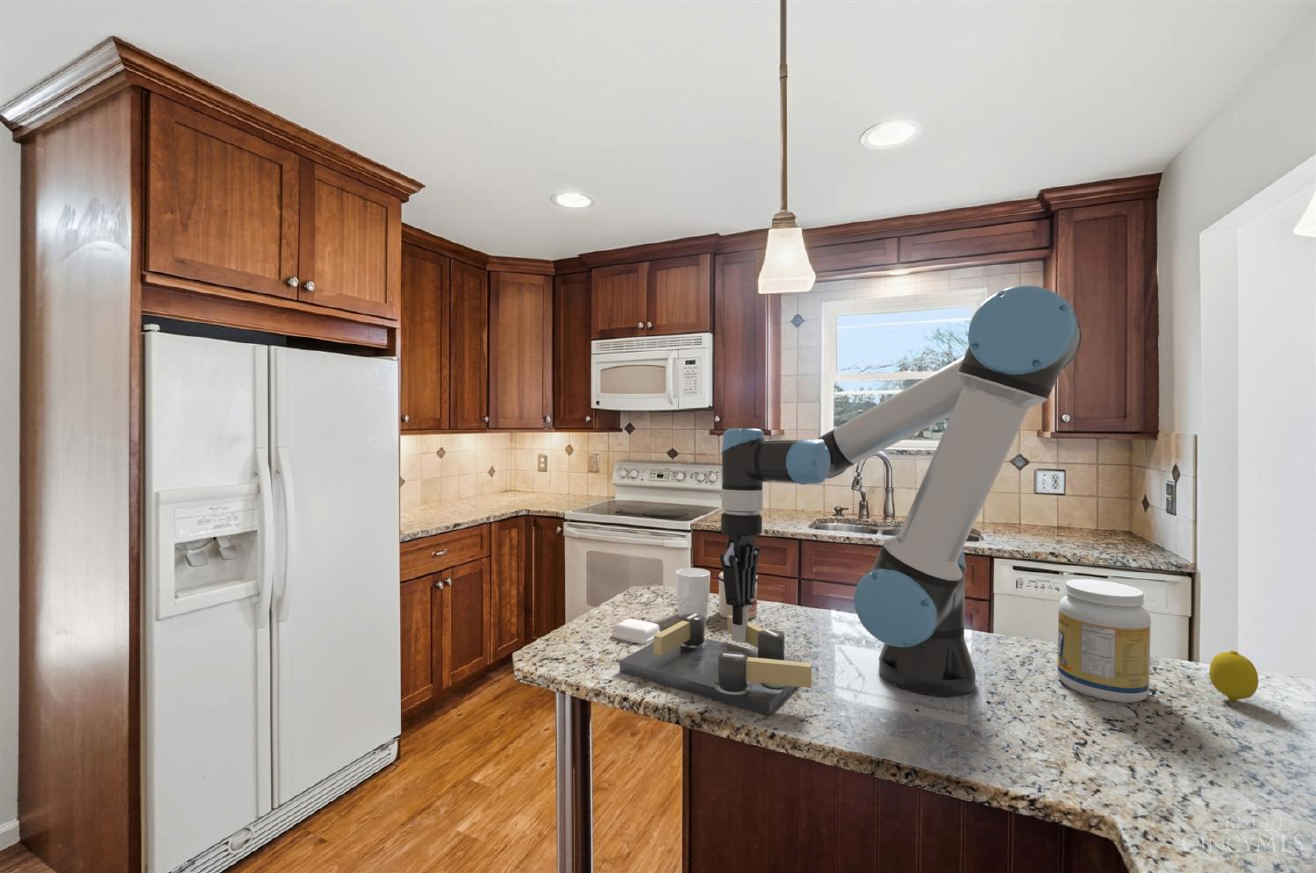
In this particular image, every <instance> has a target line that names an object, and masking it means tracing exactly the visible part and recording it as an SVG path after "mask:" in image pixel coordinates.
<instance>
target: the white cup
mask: <svg viewBox="0 0 1316 873" xmlns="http://www.w3.org/2000/svg"><path fill="white" fill-rule="evenodd" d="M710 583H711V572H710V570H707V569H704V568H698V567H685V568H680V569H677V570H676V571H675V585H676V586H675V592H676V604H677V616H678V617H679V618H680V617H681V616H682V615H684V614H695V613H696V614H699V615H702V616H704V617H705V619H706V618H707V617H708V616H709V615H708V611H709V610H708V609H709V601H710V588H711V587H710V586H711V585H710Z"/></svg>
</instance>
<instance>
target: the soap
mask: <svg viewBox="0 0 1316 873" xmlns="http://www.w3.org/2000/svg"><path fill="white" fill-rule="evenodd" d="M660 632H661V631H660V625H659V624H658V623H654V622H649V621H645V620H640V619H635V618H628V619H624V620H622V621H620V622H619V623H617V624H615V625H614V629H613V632H612V634H611V637H612V638H616V639H619V640H623V641H628V642H632V643H636V644H642V645H649V644H651V643H653V642H654V635H656V634H658V633H660Z"/></svg>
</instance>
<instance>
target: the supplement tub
mask: <svg viewBox="0 0 1316 873" xmlns="http://www.w3.org/2000/svg"><path fill="white" fill-rule="evenodd" d="M1064 593H1065V596H1063V597H1061V598H1060V600H1059V603H1058V607H1057V608H1058V620H1057V622H1058V623H1057V624H1058V626H1057V627H1058V629H1057V630H1058V631H1057V633H1058V634H1057V635H1058V637H1057V669H1056V670H1057V675H1058V678H1059V679H1060V681H1061V682H1062V683H1063V684H1064V685H1066V687H1068V688H1070V689H1072V690H1073V691H1075V692H1078V693H1081V694H1083V695H1086V696H1089V697H1093V698H1097V699H1099V700H1100V699H1101V700H1106V701H1111V702H1114V703H1115V702H1116V703H1137V702H1140V701H1144V700H1145V699H1146V698H1148V696H1149V694H1150V690H1151V689H1150V670H1151V668H1150V663H1151V624H1152V621H1151V620H1152V618H1151V616H1150V614H1149V612H1148V610H1146V608H1145V607H1143V606H1144V604H1145V600H1144V592H1143V591H1142V590H1141V589H1139V588H1137V587H1134V586H1130V585H1127V584H1123V583H1120V582H1119V583H1118V582H1114V581H1107V580H1101V579H1090V578H1088V579H1087V578H1080V579H1079V578H1078V579H1077V578H1075V579H1069V580H1067V581H1066V582H1065V589H1064Z"/></svg>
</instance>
